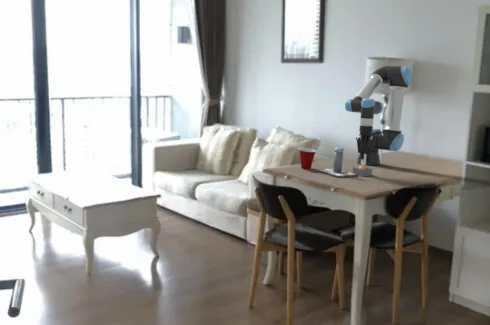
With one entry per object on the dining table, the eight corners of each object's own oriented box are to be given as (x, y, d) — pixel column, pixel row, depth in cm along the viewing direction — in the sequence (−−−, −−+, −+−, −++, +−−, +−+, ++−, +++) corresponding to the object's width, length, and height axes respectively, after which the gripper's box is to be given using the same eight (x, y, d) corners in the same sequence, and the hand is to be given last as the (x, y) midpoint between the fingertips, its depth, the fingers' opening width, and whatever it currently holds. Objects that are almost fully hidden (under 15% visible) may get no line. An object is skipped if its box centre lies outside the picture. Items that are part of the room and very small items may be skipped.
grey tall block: (337, 170, 330) (339, 147, 327) (343, 172, 325) (345, 148, 323) (331, 171, 327) (332, 147, 325) (336, 172, 323) (338, 149, 320)
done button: (362, 169, 331) (363, 165, 330) (367, 171, 327) (368, 167, 327) (357, 170, 329) (357, 166, 328) (362, 171, 325) (362, 167, 324)
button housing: (362, 172, 334) (363, 166, 333) (371, 175, 327) (372, 168, 326) (352, 173, 330) (353, 166, 329) (361, 176, 323) (362, 169, 322)
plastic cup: (314, 170, 333) (315, 150, 331) (296, 169, 335) (297, 149, 333) (315, 167, 344) (317, 148, 342) (298, 166, 346) (299, 147, 344)
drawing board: (336, 169, 339) (336, 167, 339) (358, 176, 322) (358, 174, 321) (316, 171, 331) (316, 169, 331) (337, 178, 314) (338, 175, 314)
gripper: (370, 124, 329) (367, 162, 334) (353, 124, 323) (350, 164, 328) (379, 125, 323) (375, 165, 327) (362, 126, 317) (358, 166, 321)
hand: (363, 164), depth 327 cm, fingers closed
